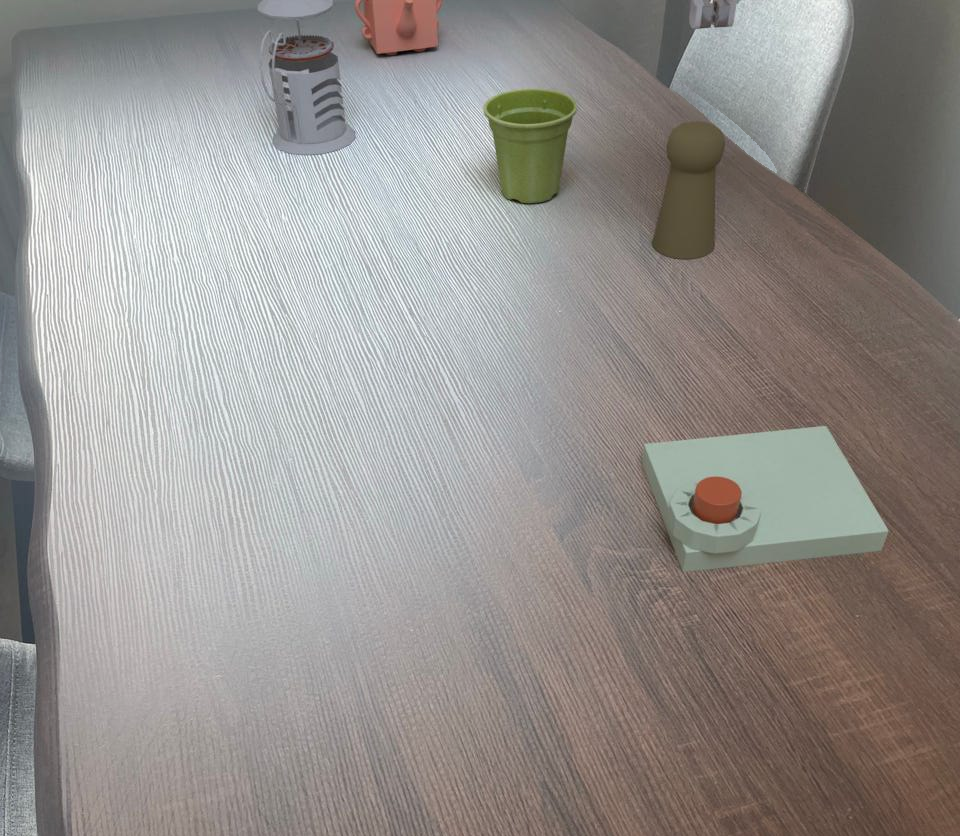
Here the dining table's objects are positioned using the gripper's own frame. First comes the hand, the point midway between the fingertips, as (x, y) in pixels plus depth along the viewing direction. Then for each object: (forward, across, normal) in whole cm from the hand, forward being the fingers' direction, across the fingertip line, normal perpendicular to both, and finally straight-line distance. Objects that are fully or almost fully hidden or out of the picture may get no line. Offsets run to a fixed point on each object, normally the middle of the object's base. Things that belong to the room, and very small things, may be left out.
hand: (710, 26), depth 86 cm
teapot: (+20, -23, +61) cm, 68 cm away
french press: (+20, -36, +32) cm, 52 cm away
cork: (+19, 0, 0) cm, 19 cm away
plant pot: (+19, -13, +14) cm, 27 cm away
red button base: (+19, -5, -39) cm, 44 cm away
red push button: (+16, -9, -42) cm, 46 cm away
